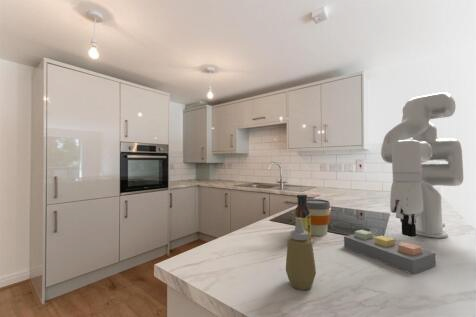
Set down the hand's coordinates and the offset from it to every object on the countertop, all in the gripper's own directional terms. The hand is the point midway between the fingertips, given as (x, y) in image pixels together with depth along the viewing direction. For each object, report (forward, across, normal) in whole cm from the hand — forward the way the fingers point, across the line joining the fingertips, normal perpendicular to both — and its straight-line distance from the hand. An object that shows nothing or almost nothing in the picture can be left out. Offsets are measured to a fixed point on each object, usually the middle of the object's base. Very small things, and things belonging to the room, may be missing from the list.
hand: (408, 235), depth 71 cm
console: (+9, 0, -8) cm, 12 cm away
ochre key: (+5, 0, -8) cm, 10 cm away
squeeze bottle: (+10, +38, -6) cm, 40 cm away
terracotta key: (+6, 0, 0) cm, 6 cm away
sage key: (+6, 0, -16) cm, 17 cm away
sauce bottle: (+10, +16, -32) cm, 37 cm away
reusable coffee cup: (+9, +2, -38) cm, 39 cm away
